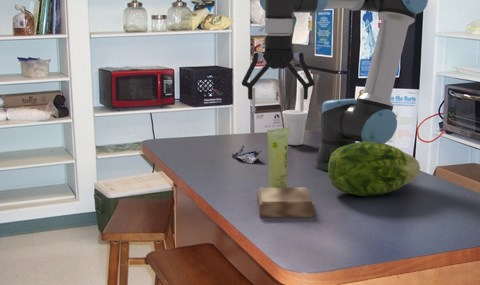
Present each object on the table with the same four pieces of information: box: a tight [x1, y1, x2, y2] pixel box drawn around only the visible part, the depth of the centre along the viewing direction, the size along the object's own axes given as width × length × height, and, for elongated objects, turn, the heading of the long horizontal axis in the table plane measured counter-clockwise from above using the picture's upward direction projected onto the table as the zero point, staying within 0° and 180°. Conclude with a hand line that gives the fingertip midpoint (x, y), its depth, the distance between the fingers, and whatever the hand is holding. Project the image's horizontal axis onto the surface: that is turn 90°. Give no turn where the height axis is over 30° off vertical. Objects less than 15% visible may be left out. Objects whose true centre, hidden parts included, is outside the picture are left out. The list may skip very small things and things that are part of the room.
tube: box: [266, 127, 289, 188], centre depth 179 cm, size 6×5×20 cm
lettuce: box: [327, 141, 421, 197], centre depth 180 cm, size 15×27×16 cm, turn 97°
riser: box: [256, 186, 315, 218], centre depth 168 cm, size 14×14×4 cm
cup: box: [282, 109, 309, 146], centre depth 247 cm, size 10×10×13 cm
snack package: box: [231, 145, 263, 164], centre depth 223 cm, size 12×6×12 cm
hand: (277, 111), depth 176 cm, fingers open, 13 cm apart
